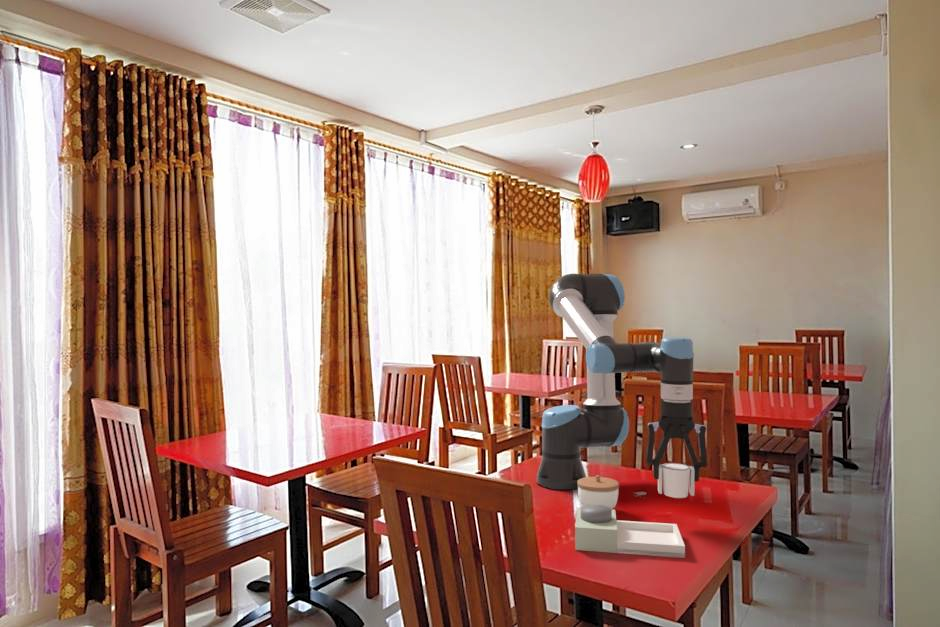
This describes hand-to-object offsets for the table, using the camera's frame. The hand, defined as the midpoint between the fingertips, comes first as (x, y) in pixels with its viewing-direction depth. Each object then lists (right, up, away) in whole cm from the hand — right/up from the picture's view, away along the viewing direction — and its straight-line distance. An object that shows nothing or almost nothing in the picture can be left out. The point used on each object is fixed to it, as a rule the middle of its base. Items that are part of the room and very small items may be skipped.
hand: (675, 492), depth 150 cm
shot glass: (0, -1, 0) cm, 1 cm away
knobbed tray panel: (-15, -8, -12) cm, 21 cm away
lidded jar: (-17, -8, +10) cm, 21 cm away
